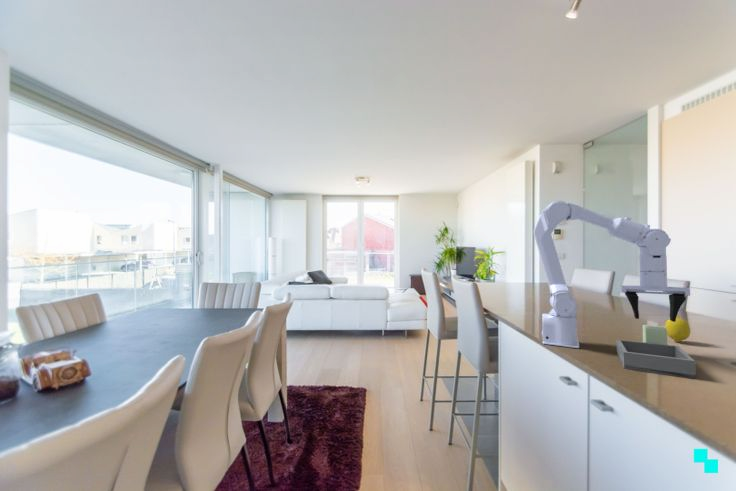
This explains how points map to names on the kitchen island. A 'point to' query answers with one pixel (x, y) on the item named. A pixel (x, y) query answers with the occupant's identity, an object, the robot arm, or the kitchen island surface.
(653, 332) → the block
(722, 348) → the kitchen island surface
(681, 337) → the lemon
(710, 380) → the kitchen island surface
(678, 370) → the bin
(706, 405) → the kitchen island surface
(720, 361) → the kitchen island surface
